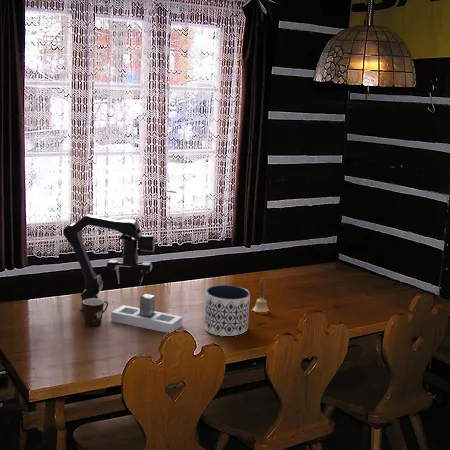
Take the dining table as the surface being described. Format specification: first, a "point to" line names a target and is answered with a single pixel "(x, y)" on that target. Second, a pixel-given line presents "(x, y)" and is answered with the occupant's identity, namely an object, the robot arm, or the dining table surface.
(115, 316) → the white flat frame block
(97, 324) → the coffee mug
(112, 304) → the dining table surface
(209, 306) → the planter
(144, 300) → the steel peg
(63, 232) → the robot arm
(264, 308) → the hand bell
